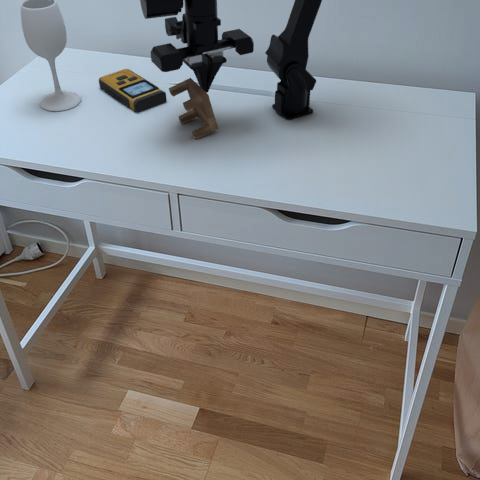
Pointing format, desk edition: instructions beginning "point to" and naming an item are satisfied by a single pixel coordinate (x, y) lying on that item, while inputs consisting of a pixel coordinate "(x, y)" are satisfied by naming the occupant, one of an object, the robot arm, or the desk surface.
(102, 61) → the desk surface
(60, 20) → the wineglass
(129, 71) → the electronic device
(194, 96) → the footstool
